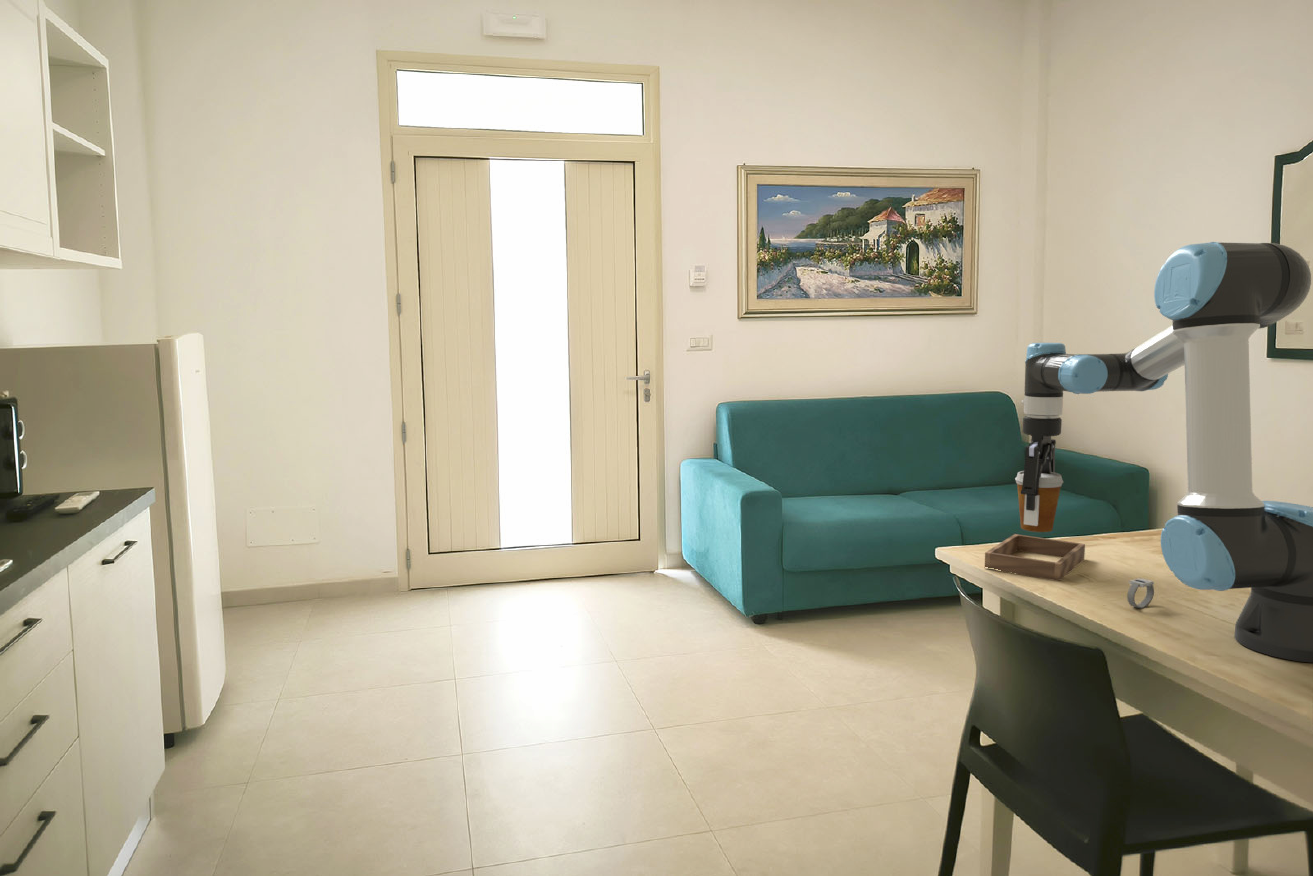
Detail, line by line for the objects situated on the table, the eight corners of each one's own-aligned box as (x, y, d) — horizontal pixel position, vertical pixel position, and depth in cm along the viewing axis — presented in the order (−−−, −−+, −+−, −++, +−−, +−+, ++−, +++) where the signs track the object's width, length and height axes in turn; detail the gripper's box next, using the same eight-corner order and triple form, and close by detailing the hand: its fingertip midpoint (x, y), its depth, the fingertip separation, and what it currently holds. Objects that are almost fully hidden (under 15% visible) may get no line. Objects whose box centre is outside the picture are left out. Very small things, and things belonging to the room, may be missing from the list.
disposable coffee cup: (1054, 536, 184) (1057, 479, 182) (1007, 530, 189) (1009, 475, 188) (1065, 527, 191) (1068, 472, 189) (1019, 521, 197) (1022, 468, 195)
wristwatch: (1142, 602, 165) (1144, 576, 165) (1157, 606, 163) (1159, 580, 162) (1122, 607, 162) (1123, 581, 162) (1136, 612, 160) (1138, 585, 159)
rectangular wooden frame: (1059, 581, 179) (1060, 564, 178) (984, 568, 188) (985, 552, 188) (1084, 559, 194) (1085, 543, 194) (1013, 548, 204) (1014, 534, 203)
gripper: (1038, 410, 197) (1033, 509, 200) (1008, 419, 181) (1003, 527, 184) (1074, 412, 193) (1068, 514, 196) (1046, 422, 176) (1041, 533, 180)
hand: (1036, 520), depth 190 cm, fingers closed on disposable coffee cup, 8 cm apart
